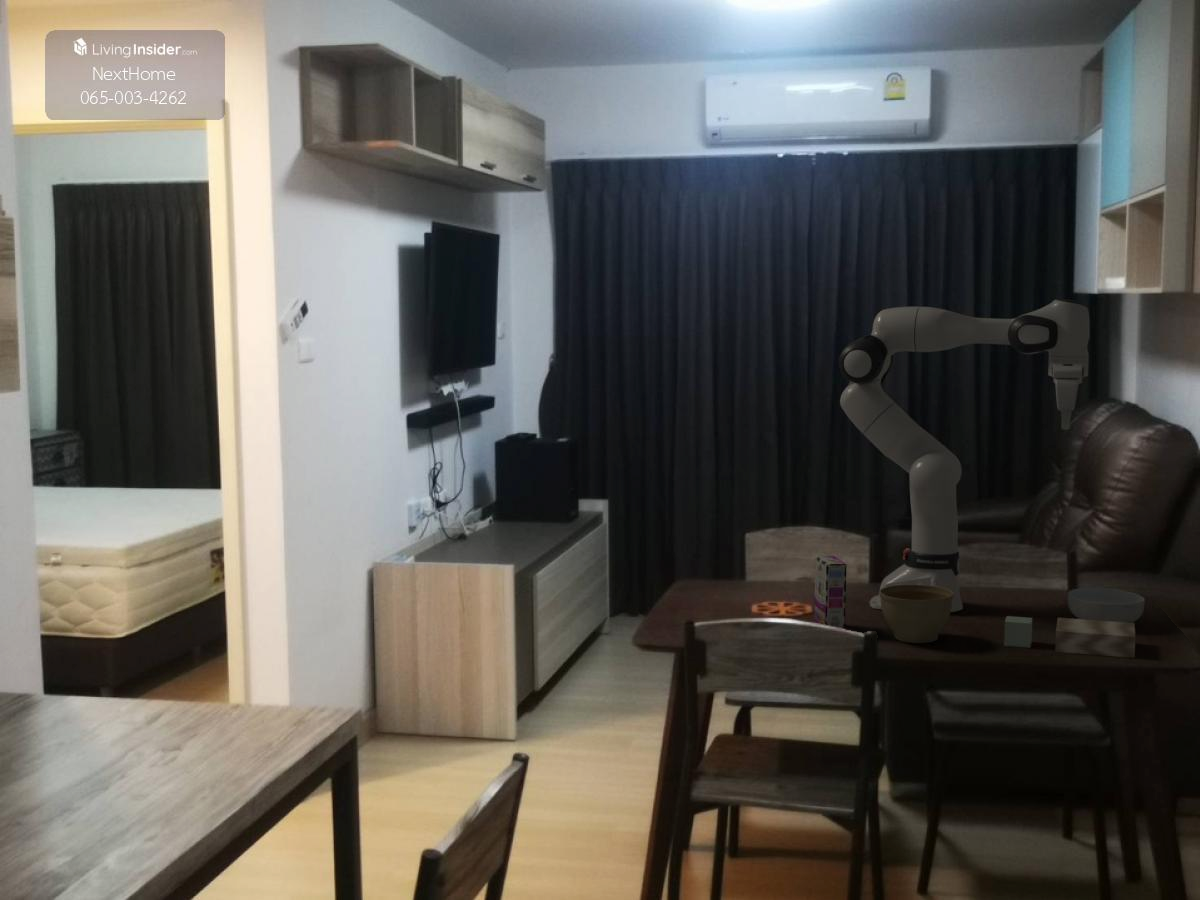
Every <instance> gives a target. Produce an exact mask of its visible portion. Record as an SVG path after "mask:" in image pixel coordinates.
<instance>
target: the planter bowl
mask: <svg viewBox="0 0 1200 900" xmlns="http://www.w3.org/2000/svg"><path fill="white" fill-rule="evenodd" d="M879 591H880V597H881V607H882V609H881V612H882V615H883V617H884V620H885V621H886V623H887V625H888V627H889V628H890V630H892V633H893V636H894V638H895V639H896V640H898V641H899V642H904V643H909V644H927V643H934V642H935V641H937V640H938V638H939V634H940V632H942V630H943V629H944V628H945V626H946V624H947V622H948V620H949V617H950V615H951V613H952V612H951V607H952V599H953V592H952V591H951V590H948V589H946V588H942V587H937V586H930V585H894V586H888V587H884V588H882V589H881V590H880V589H879Z"/></svg>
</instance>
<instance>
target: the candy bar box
mask: <svg viewBox="0 0 1200 900" xmlns="http://www.w3.org/2000/svg"><path fill="white" fill-rule="evenodd" d="M814 563H815V564H814V565H815V567H814V607H813V609H814V612H813V613H814V614H813V615H814V617H813V618H814V620H813V623H814V622H817V623H821V624H826V625H831V626H836V627H841V628H845V629H846V605H847V603H846V599H847V598H846V596H847V565H848V564H846V563H845V562H844V561H842V560H840V559H839V558H838V557H837V556H834V555H816V556H815V562H814Z"/></svg>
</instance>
